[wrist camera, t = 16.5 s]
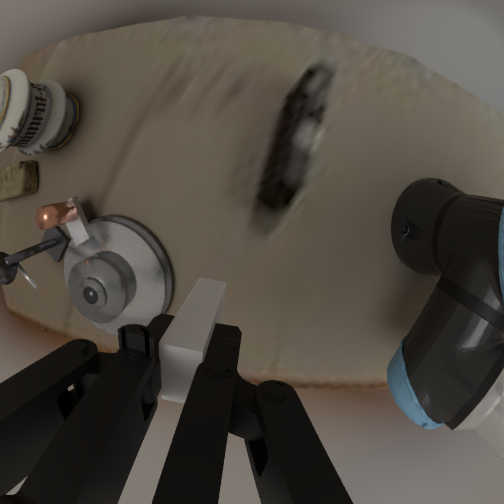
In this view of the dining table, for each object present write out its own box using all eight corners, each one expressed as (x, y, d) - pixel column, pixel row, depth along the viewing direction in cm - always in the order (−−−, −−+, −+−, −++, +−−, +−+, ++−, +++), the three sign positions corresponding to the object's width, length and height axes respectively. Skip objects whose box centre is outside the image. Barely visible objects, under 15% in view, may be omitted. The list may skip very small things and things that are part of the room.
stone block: (5, 173, 35) (-12, 174, 30) (39, 158, 34) (21, 158, 30) (7, 201, 36) (-10, 205, 31) (41, 190, 36) (23, 193, 31)
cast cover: (119, 240, 35) (98, 250, 29) (147, 297, 37) (131, 316, 31) (76, 263, 35) (55, 275, 30) (103, 315, 37) (85, 333, 32)
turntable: (118, 169, 33) (84, 169, 25) (188, 311, 38) (173, 343, 30) (42, 226, 35) (8, 238, 27) (104, 342, 40) (81, 371, 32)
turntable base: (199, 273, 39) (196, 276, 37) (135, 347, 43) (132, 352, 41) (105, 189, 36) (100, 190, 34) (58, 276, 39) (53, 279, 38)
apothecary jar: (71, 162, 35) (-13, 163, 17) (28, 150, 34) (-45, 150, 16) (94, 90, 32) (20, 58, 14) (49, 86, 31) (-20, 66, 13)
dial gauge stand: (82, 251, 38) (16, 285, 23) (71, 272, 39) (10, 310, 24) (53, 220, 37) (-14, 242, 21) (44, 242, 38) (-20, 269, 22)
